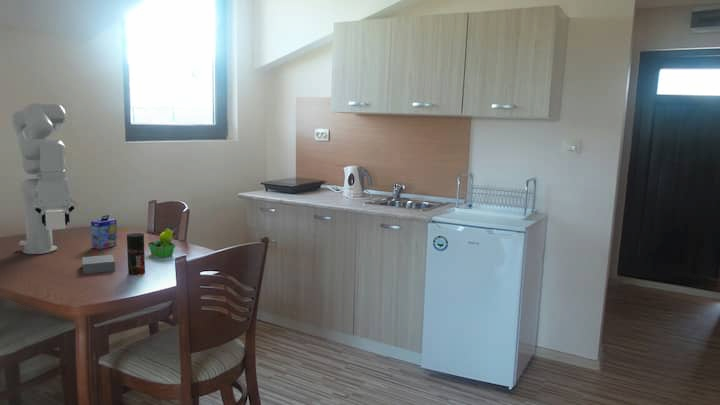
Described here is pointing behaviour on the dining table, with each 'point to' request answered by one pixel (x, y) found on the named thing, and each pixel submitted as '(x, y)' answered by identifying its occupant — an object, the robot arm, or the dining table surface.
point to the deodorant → (136, 254)
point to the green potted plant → (163, 245)
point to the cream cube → (55, 219)
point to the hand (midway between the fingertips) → (56, 224)
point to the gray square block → (98, 264)
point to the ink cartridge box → (104, 233)
